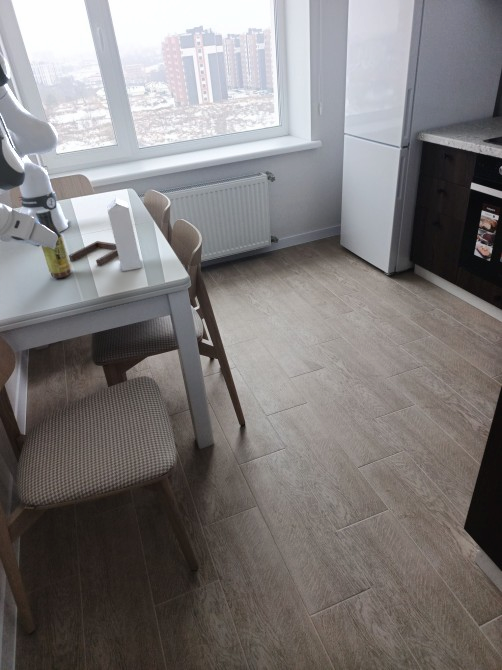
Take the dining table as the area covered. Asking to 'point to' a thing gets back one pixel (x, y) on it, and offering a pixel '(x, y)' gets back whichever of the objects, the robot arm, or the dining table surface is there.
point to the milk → (124, 235)
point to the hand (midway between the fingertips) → (46, 245)
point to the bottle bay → (93, 247)
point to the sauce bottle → (57, 256)
